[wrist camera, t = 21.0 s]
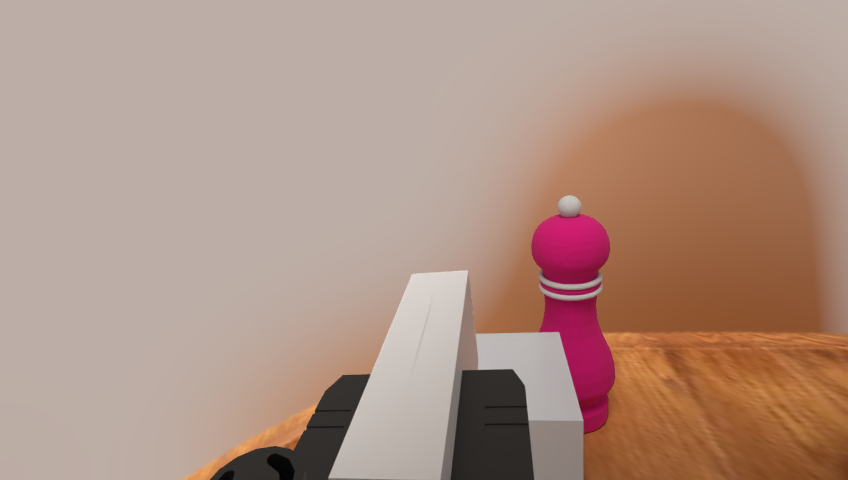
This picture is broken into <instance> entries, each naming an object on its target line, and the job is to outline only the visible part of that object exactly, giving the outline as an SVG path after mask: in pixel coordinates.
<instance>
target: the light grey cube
mask: <svg viewBox="0 0 848 480" xmlns="http://www.w3.org/2000/svg"><path fill="white" fill-rule="evenodd" d="M476 342H477V351H478V370H492V369H513V370H514V371H515V373H516V374H517V375H518V377H519V378H520V379H521V381H522V382H523V383H524V385H525V390H526V400H527V410H528V420H529V430H530V440H531V451H532V461H533V471H534V480H583V423H584V421H583V417H582V414H581V410H580V406H579V403H578V399H577V395H576V392H575V388H574V385H573V381H572V377H571V374H570V370H569V366H568V363H567V359H566V356H565V352H564V348H563V345H562V341H561V338H560V334H559V332H541V333H497V334H476Z"/></svg>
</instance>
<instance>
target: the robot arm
mask: <svg viewBox="0 0 848 480" xmlns="http://www.w3.org/2000/svg"><path fill="white" fill-rule="evenodd" d="M210 480H534V471H533V461H532V451H531V440H530V430H529V420H528V410H527V400H526V390H525V385H524V383H523V382H522V381H521V379H520V378H519V377H518V375H517V374H516V373H515V371H514V370H513V369H492V370H478V351H477V342H476V334H475V325H474V316H473V307H472V299H471V290H470V281H469V272H468V270H464V271H450V272H434V273H419V274H412V276H411V279H410V281H409V283H408V286H407V288H406V290H405V293H404V295H403V298H402V300H401V303H400V305H399V307H398V310H397V312H396V315H395V317H394V320H393V322H392V324H391V327H390V329H389V332H388V334H387V337H386V339H385V341H384V344H383V346H382V349H381V351H380V354H379V356H378V358H377V361H376V363H375V366H374V368H373V371H372V373H371V374H368V375H343V376H342V377H340V378H339V379H338V380H337V381H336V382H335V383H334V384H333V385H332V386H331V387H329V388H328V389H327V390H326V391H325V393H324V395H323V396H322V398H321V400H320V402H319V404H318V406H317V408H316V410H315V414H313V415H312V417H311V419H310V421H309V423H308V425H307V429H306V431H304V432H303V434H302V436H301V438H300V439H299V441H298V443H297V445H296V447H295V449H294V451H292V450H291V449H288V448H282V447H277V446H273V447H267V448H260V449H255V450H253V451H251V452H248V453H246V454H243V455H241V456H239V457H237V458H235V459H234V460H232V461H231V462H229V463H228V464H227V465H225V466H224V467H222V468H221V469H219V470H218V472H217V473H216V474H215V475H214V476H213V477H212V478H211V479H210Z"/></svg>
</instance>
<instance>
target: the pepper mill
mask: <svg viewBox="0 0 848 480" xmlns="http://www.w3.org/2000/svg"><path fill="white" fill-rule="evenodd" d="M558 211H559V213H560V215H555V216H553V217H550V218H548V219H547V220H545V221H543V222H542V223H541V224H540V225H539V226H538V228H537V229H536V230H535V233H534V235H533V239H532V247H531V249H532V256H533V259H534V260H535V262H536V263H537V265H538V266H539V267H540V268H541V269H542V270H541V271H540V273H539V279H540V283H539V289H540V290H541V292H542V293H543V294H544V296H545V312H544V313H545V314H544V319H543V322H542V326H541V328H540V331H539V333H541V332H559V334H560V338H561V341H562V345H563V348H564V352H565V356H566V359H567V363H568V366H569V370H570V374H571V377H572V381H573V385H574V388H575V392H576V395H577V399H578V403H579V406H580V410H581V414H582V417H583V421H584V423H583V433H587V432H592V431H594V430H596V429H598V428H600V427H601V426H602V425H603V424H604V423H605V422H606V420H607V417H608V396H607V393H608V392H609V391H610V389H611V388H612V386H613V384H614V380H615V368H614V361H613V357H612V354H611V351H610V349H609V347H608V345H607V342H606V340H605V338H604V336H603V334H602V332H601V329H600V327H599V323H598V319H597V313H596V298H597V295H598V294H599V293H600V292H601V291H602V288H603V287H602V284H601V281H602V278H603V276H602V273H601V272H600V271H599V269H600V268H601V267H602V266H603V265H604V264H605V262H606V261H607V259H608V257H609V252H610V242H609V238H608V235H607V232H606V230H605V229H604V227H603V226H602V225H601V224H600V223H599V222H598V221H596V220H595V219H594V218H591V217H589V216H586V215H582V214H579V213H580V211H581V203H580V201H579V200H578V199H577V198H576V197H574V196H566V197H563V198H562V199H561V200H560V201H559V203H558Z"/></svg>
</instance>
